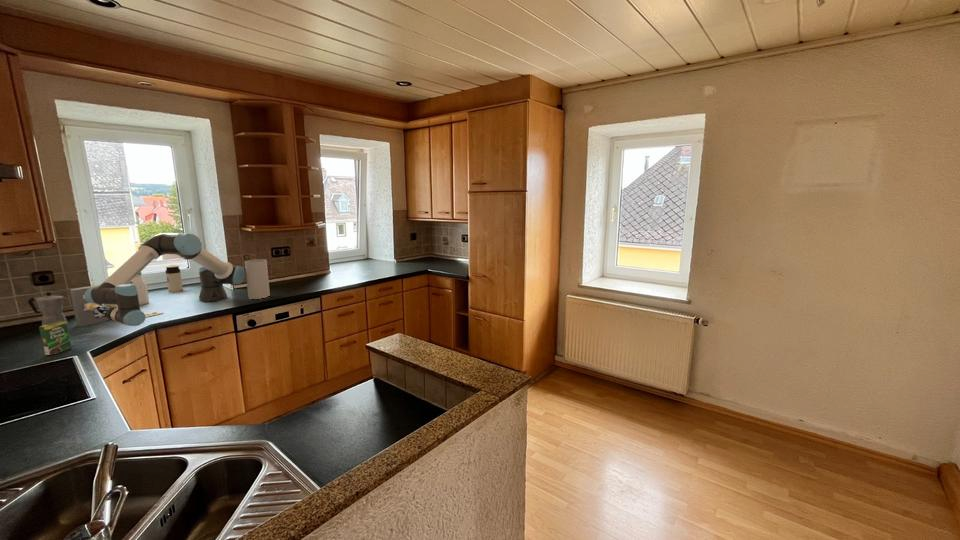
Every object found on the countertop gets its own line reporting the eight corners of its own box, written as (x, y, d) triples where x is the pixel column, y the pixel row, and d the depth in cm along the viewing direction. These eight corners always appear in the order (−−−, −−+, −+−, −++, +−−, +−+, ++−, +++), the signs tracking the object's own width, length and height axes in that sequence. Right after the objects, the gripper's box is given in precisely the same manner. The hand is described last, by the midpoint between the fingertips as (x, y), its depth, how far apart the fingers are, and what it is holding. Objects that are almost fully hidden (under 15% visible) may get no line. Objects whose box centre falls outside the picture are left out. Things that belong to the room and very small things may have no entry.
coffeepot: (78, 322, 202) (71, 289, 198) (64, 328, 193) (57, 293, 189) (41, 324, 198) (34, 290, 194) (25, 330, 189) (17, 295, 186)
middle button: (118, 306, 204) (117, 299, 203) (109, 308, 201) (108, 300, 200) (111, 304, 207) (110, 297, 206) (102, 306, 204) (100, 299, 203)
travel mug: (182, 289, 275) (179, 264, 272) (183, 291, 269) (179, 266, 266) (168, 290, 270) (164, 265, 267) (168, 292, 264) (165, 267, 261)
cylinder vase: (261, 300, 249) (257, 262, 244) (243, 299, 251) (240, 261, 246) (274, 295, 261) (271, 259, 256) (257, 294, 263) (254, 258, 258)
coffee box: (49, 356, 160) (43, 326, 158) (44, 356, 161) (37, 326, 158) (72, 349, 168) (67, 320, 165) (67, 348, 168) (61, 320, 166)
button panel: (137, 314, 217) (132, 281, 213) (80, 326, 196) (73, 290, 192) (133, 313, 219) (128, 280, 215) (76, 325, 197) (69, 289, 194)
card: (163, 313, 219) (163, 312, 219) (140, 318, 209) (139, 317, 209) (157, 312, 221) (157, 310, 221) (134, 317, 212) (133, 316, 211)
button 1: (100, 310, 197) (99, 302, 197) (90, 312, 194) (88, 304, 193) (93, 308, 200) (92, 300, 200) (83, 310, 197) (81, 302, 196)
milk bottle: (152, 302, 241) (148, 271, 237) (140, 305, 233) (135, 273, 230) (141, 301, 242) (136, 270, 238) (129, 305, 234) (124, 273, 230)
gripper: (103, 325, 180) (79, 318, 190) (137, 318, 192) (112, 311, 201) (100, 310, 179) (76, 303, 188) (134, 303, 191) (110, 297, 200)
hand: (95, 307), depth 195 cm, fingers closed
